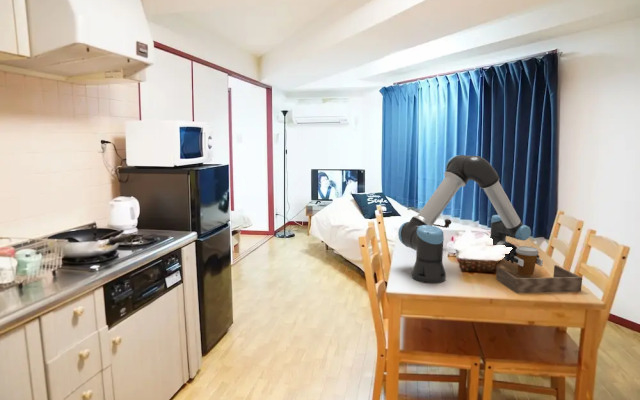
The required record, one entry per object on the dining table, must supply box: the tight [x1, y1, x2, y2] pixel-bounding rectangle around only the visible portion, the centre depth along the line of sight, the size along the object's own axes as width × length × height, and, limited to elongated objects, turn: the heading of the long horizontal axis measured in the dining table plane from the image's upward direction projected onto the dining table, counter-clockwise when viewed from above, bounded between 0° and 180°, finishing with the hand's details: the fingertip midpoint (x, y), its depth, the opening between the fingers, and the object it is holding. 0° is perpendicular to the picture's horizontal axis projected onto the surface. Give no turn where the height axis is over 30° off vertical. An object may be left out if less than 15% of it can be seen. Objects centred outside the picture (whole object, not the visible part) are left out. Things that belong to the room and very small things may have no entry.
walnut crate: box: [495, 264, 583, 294], centre depth 178 cm, size 28×17×6 cm, turn 93°
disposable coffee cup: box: [516, 245, 540, 277], centre depth 188 cm, size 10×10×12 cm
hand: (532, 263), depth 183 cm, fingers closed on disposable coffee cup, 8 cm apart
